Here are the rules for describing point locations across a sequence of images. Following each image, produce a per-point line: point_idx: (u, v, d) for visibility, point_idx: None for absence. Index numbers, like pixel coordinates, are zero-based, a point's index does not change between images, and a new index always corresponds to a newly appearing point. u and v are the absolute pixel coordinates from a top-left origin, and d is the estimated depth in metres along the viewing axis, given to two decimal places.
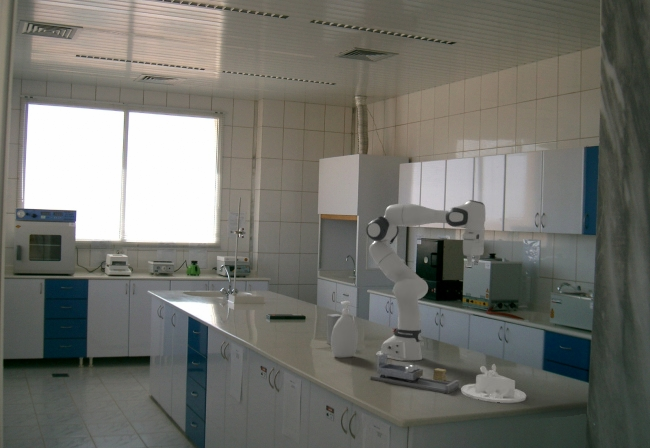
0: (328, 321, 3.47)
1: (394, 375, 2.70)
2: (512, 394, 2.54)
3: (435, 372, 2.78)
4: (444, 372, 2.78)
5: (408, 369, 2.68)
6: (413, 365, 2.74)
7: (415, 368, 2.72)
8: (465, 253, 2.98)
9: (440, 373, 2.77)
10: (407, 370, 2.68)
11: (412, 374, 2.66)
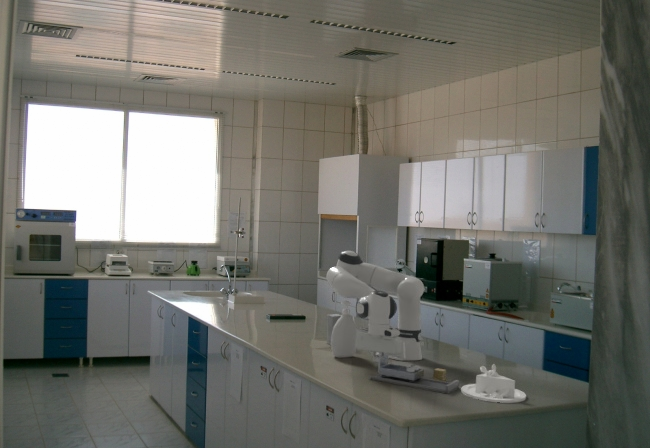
0: (328, 321, 3.47)
1: (395, 375, 2.70)
2: (512, 394, 2.54)
3: (435, 372, 2.78)
4: (444, 372, 2.78)
5: (409, 369, 2.68)
6: (414, 365, 2.74)
7: (416, 368, 2.72)
8: (398, 352, 2.74)
9: (440, 373, 2.77)
10: (408, 370, 2.68)
11: (413, 374, 2.66)
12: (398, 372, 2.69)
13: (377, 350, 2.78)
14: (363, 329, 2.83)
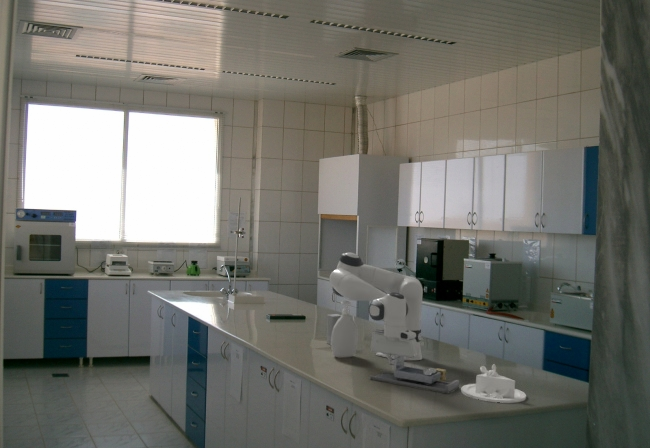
0: (328, 321, 3.47)
1: (412, 378, 2.66)
2: (512, 394, 2.54)
3: None
4: (444, 372, 2.78)
5: (426, 372, 2.64)
6: (431, 368, 2.70)
7: (433, 371, 2.68)
8: (414, 355, 2.70)
9: None
10: (425, 373, 2.64)
11: (430, 377, 2.62)
12: (415, 375, 2.65)
13: (393, 353, 2.74)
14: (378, 331, 2.79)
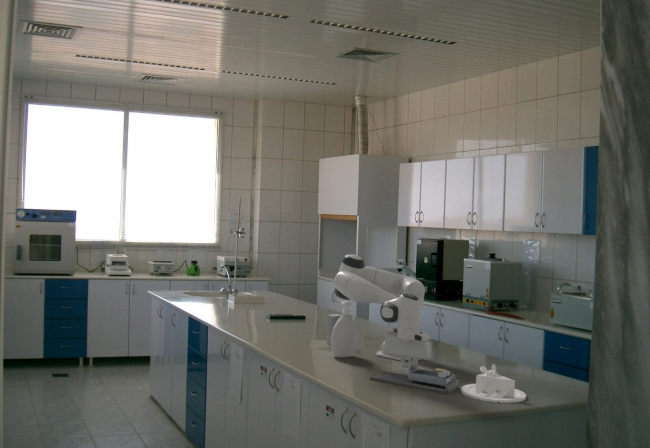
0: (328, 321, 3.47)
1: (426, 381, 2.63)
2: (512, 394, 2.54)
3: None
4: None
5: (441, 375, 2.61)
6: (445, 370, 2.67)
7: (448, 374, 2.65)
8: (429, 357, 2.67)
9: None
10: (440, 376, 2.61)
11: (445, 380, 2.59)
12: (429, 377, 2.62)
13: (407, 355, 2.71)
14: (391, 333, 2.76)
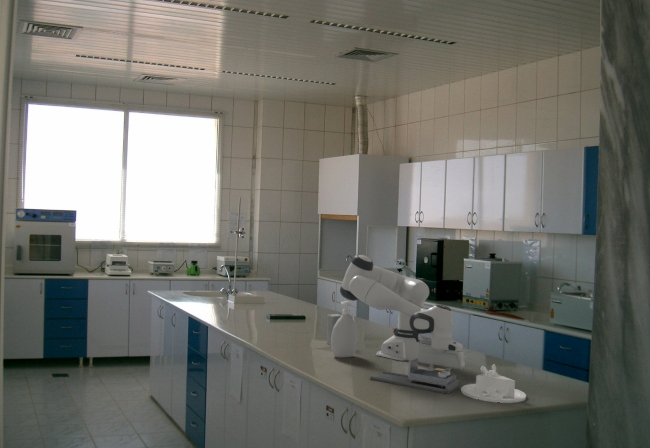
0: (328, 321, 3.47)
1: (426, 381, 2.63)
2: (512, 394, 2.54)
3: None
4: None
5: (441, 374, 2.61)
6: (445, 370, 2.67)
7: (448, 374, 2.65)
8: (462, 367, 2.73)
9: None
10: (440, 376, 2.61)
11: (445, 380, 2.59)
12: (429, 377, 2.62)
13: (440, 364, 2.77)
14: (424, 343, 2.82)
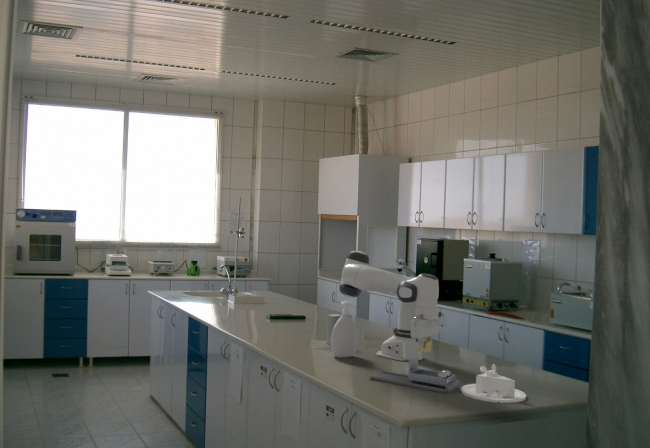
0: (328, 321, 3.47)
1: (426, 381, 2.63)
2: (512, 394, 2.54)
3: (428, 344, 2.68)
4: None
5: (442, 375, 2.61)
6: (445, 370, 2.67)
7: (448, 374, 2.65)
8: None
9: (430, 343, 2.69)
10: (441, 376, 2.61)
11: (445, 380, 2.59)
12: (429, 377, 2.62)
13: (430, 334, 2.69)
14: (419, 316, 2.64)
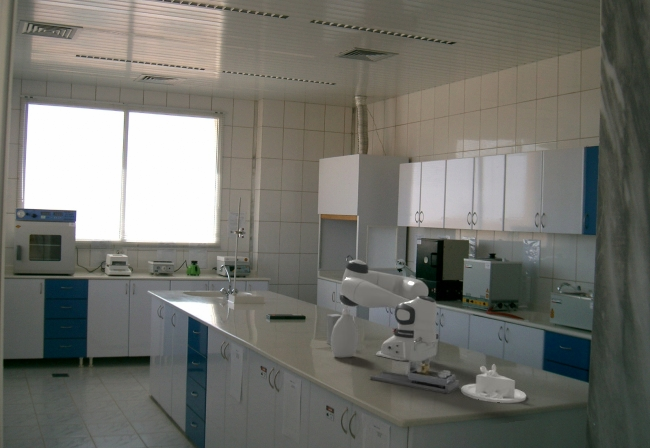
0: (328, 321, 3.47)
1: (426, 381, 2.63)
2: (512, 394, 2.54)
3: (426, 368, 2.67)
4: None
5: (443, 375, 2.61)
6: (445, 370, 2.67)
7: (448, 374, 2.65)
8: None
9: (428, 367, 2.69)
10: (442, 376, 2.61)
11: (445, 380, 2.59)
12: (429, 377, 2.62)
13: (428, 357, 2.69)
14: (418, 340, 2.63)
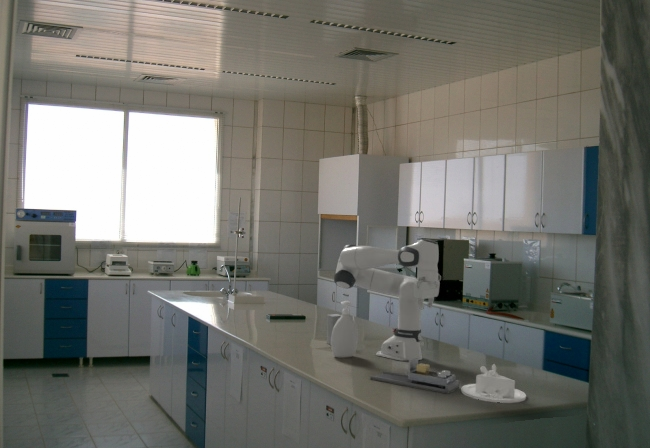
0: (328, 321, 3.47)
1: (426, 381, 2.63)
2: (512, 394, 2.54)
3: (426, 368, 2.67)
4: None
5: (443, 374, 2.61)
6: (445, 370, 2.67)
7: (448, 374, 2.65)
8: None
9: (428, 367, 2.69)
10: (442, 376, 2.61)
11: (445, 380, 2.59)
12: (429, 377, 2.62)
13: (430, 296, 2.86)
14: (421, 279, 2.79)
